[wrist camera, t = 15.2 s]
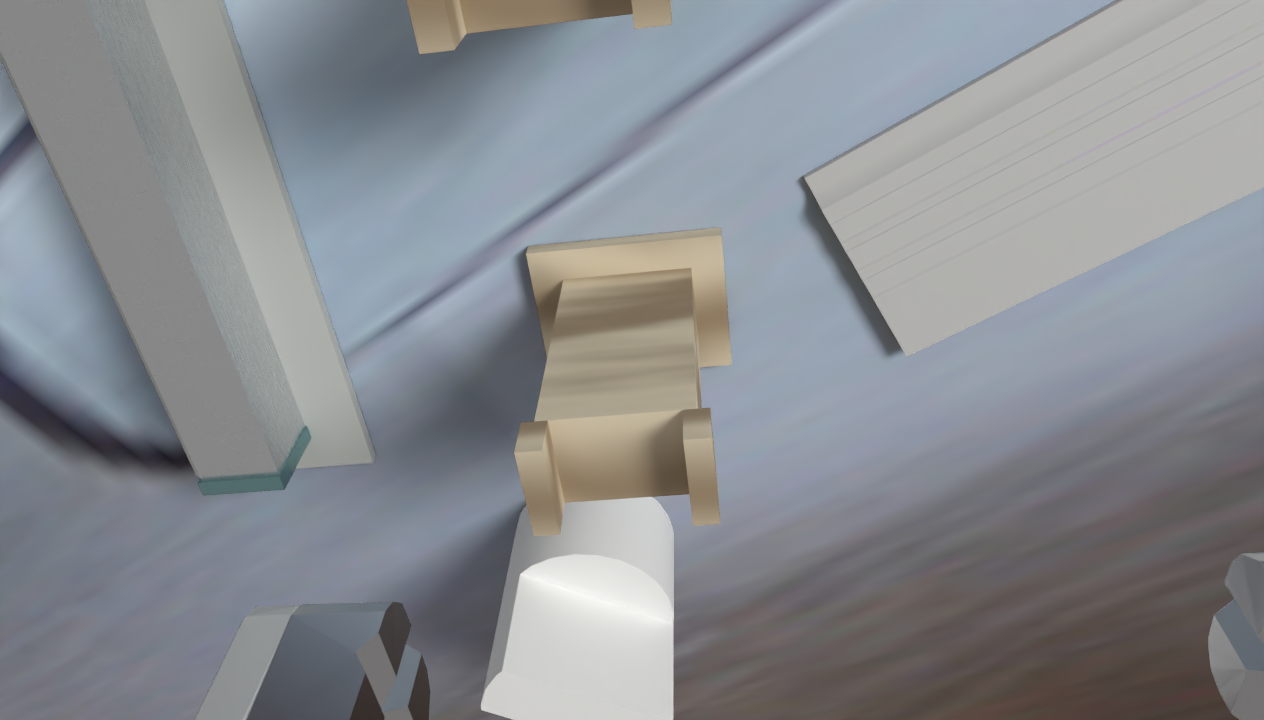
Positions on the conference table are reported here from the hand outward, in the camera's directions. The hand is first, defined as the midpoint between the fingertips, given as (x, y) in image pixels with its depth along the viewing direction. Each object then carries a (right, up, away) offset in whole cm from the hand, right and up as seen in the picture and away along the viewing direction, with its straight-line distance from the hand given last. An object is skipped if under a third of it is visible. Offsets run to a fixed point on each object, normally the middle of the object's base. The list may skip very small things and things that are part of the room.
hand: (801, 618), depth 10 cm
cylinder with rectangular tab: (-4, -7, +45) cm, 46 cm away
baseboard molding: (+21, +15, +31) cm, 40 cm away
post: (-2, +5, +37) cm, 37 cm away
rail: (-23, +11, +33) cm, 42 cm away
